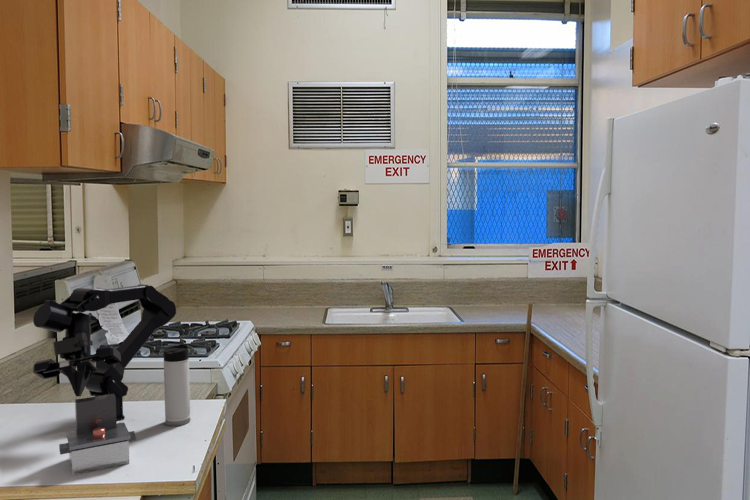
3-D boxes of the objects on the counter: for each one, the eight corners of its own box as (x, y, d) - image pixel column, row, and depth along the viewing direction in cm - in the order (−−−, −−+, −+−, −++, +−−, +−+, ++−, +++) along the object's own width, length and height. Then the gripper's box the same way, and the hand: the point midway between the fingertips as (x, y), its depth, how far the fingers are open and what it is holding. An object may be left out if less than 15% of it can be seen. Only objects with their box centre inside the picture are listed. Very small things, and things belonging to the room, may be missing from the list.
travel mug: (196, 418, 155) (194, 344, 154) (180, 427, 149) (178, 349, 148) (176, 416, 157) (174, 343, 156) (160, 424, 151) (158, 348, 150)
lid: (66, 435, 129) (65, 400, 129) (123, 425, 135) (122, 392, 135) (69, 450, 120) (68, 413, 120) (130, 439, 126) (129, 403, 126)
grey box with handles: (59, 460, 128) (58, 438, 128) (132, 446, 136) (131, 425, 136) (61, 477, 120) (60, 453, 120) (139, 461, 128) (138, 439, 127)
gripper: (22, 332, 138) (19, 396, 131) (103, 315, 140) (105, 376, 133) (45, 348, 148) (43, 408, 140) (120, 332, 150) (122, 390, 143)
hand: (78, 395), depth 139 cm, fingers closed
